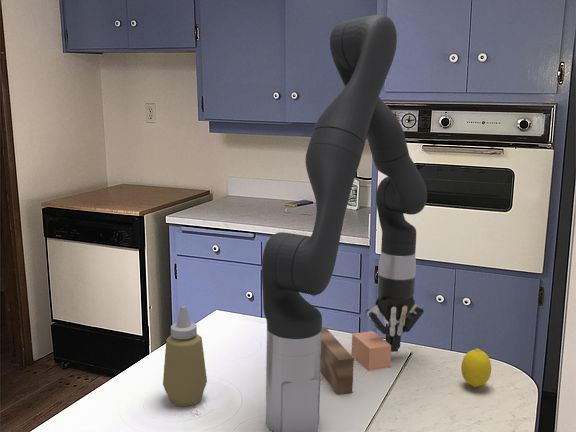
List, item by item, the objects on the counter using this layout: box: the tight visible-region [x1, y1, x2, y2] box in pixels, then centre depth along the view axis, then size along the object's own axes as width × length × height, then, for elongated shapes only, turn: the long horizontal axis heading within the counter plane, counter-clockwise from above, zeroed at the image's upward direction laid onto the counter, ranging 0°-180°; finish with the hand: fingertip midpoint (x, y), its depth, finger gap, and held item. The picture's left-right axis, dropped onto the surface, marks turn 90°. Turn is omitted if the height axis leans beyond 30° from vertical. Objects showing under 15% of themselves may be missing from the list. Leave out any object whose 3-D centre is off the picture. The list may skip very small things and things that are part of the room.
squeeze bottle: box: [162, 305, 208, 407], centre depth 111 cm, size 8×8×18 cm
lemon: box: [460, 348, 492, 388], centre depth 118 cm, size 6×6×8 cm
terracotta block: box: [350, 330, 392, 371], centre depth 129 cm, size 8×5×5 cm, turn 20°
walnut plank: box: [320, 326, 355, 395], centre depth 122 cm, size 16×3×7 cm, turn 16°
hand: (392, 350), depth 130 cm, fingers closed
